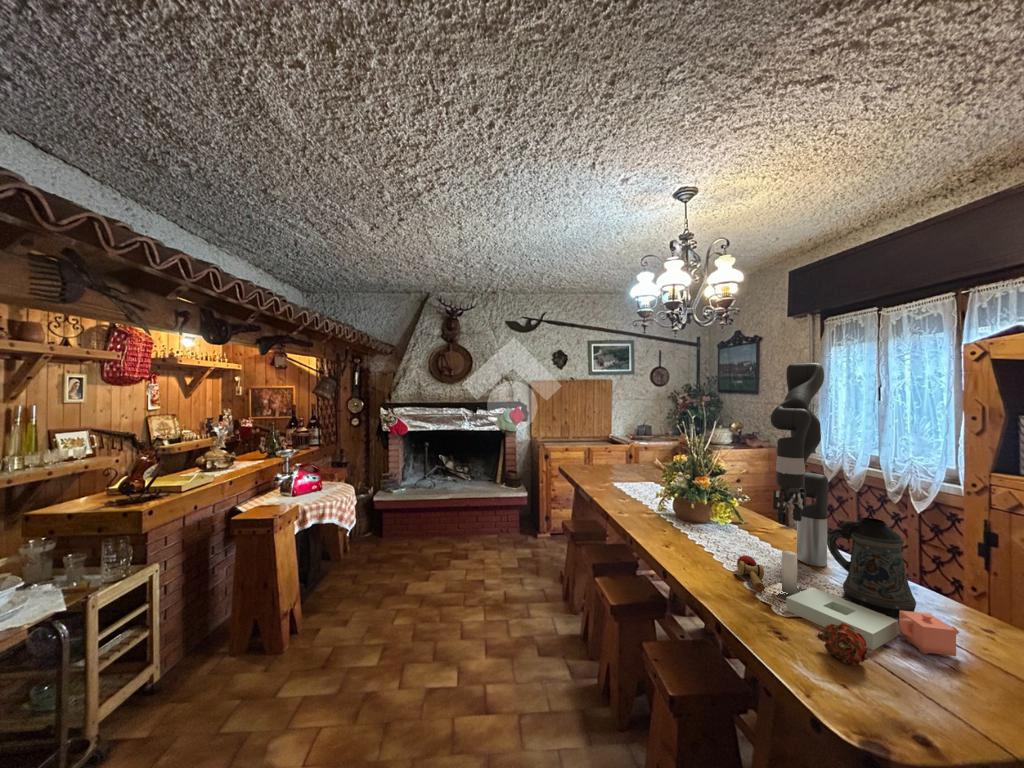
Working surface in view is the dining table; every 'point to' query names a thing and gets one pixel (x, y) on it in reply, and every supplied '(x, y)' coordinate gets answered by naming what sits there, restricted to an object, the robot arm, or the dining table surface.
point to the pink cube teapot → (928, 633)
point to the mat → (789, 594)
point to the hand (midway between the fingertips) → (789, 522)
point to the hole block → (843, 615)
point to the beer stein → (874, 567)
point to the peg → (789, 572)
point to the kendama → (751, 571)
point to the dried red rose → (844, 643)
